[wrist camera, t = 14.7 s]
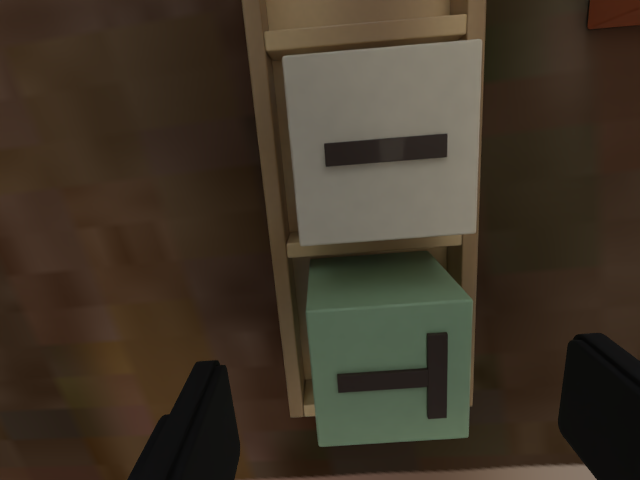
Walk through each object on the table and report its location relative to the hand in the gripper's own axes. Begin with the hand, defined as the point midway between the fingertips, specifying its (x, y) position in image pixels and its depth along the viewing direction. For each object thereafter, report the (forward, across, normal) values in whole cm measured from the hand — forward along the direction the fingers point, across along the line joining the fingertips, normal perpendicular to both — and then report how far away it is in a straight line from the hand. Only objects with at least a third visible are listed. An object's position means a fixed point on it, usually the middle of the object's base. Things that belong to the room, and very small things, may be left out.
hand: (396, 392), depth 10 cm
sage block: (+6, 0, +1) cm, 6 cm away
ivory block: (+7, 0, -6) cm, 9 cm away
